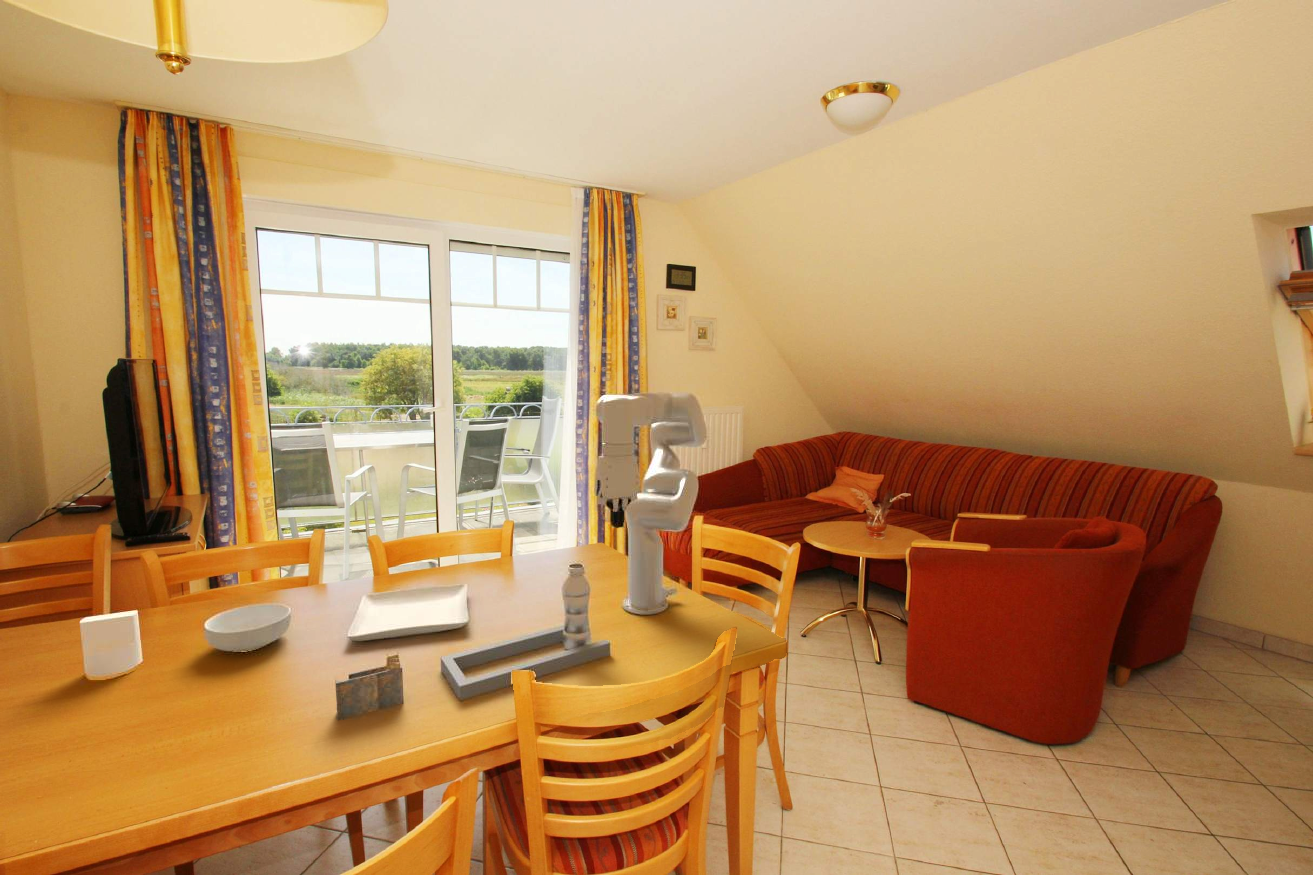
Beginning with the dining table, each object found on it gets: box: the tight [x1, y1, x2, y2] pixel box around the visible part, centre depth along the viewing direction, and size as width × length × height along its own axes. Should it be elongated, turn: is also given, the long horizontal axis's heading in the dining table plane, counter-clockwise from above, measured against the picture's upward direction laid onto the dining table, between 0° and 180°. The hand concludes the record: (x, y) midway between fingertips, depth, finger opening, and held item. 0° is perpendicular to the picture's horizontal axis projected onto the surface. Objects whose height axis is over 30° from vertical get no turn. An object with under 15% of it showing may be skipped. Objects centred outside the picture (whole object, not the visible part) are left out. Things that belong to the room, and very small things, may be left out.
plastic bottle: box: [561, 563, 592, 651], centre depth 137 cm, size 6×7×20 cm
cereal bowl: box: [203, 602, 292, 652], centre depth 138 cm, size 17×17×7 cm
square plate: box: [346, 583, 470, 642], centre depth 154 cm, size 27×27×4 cm
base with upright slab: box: [79, 609, 143, 677], centre depth 126 cm, size 9×9×12 cm
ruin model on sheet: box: [334, 653, 405, 721], centre depth 113 cm, size 11×3×10 cm, turn 121°
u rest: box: [440, 624, 611, 701], centre depth 131 cm, size 34×14×3 cm, turn 124°
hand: (617, 526), depth 141 cm, fingers closed
